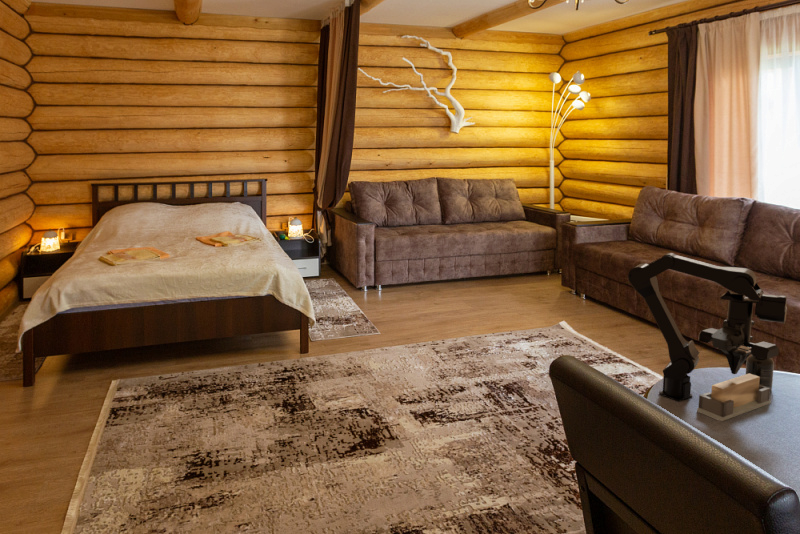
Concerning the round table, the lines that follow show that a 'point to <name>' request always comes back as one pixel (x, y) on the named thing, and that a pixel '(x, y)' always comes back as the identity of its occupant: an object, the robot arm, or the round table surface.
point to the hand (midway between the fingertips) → (734, 373)
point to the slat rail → (731, 405)
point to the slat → (737, 390)
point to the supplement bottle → (761, 369)
